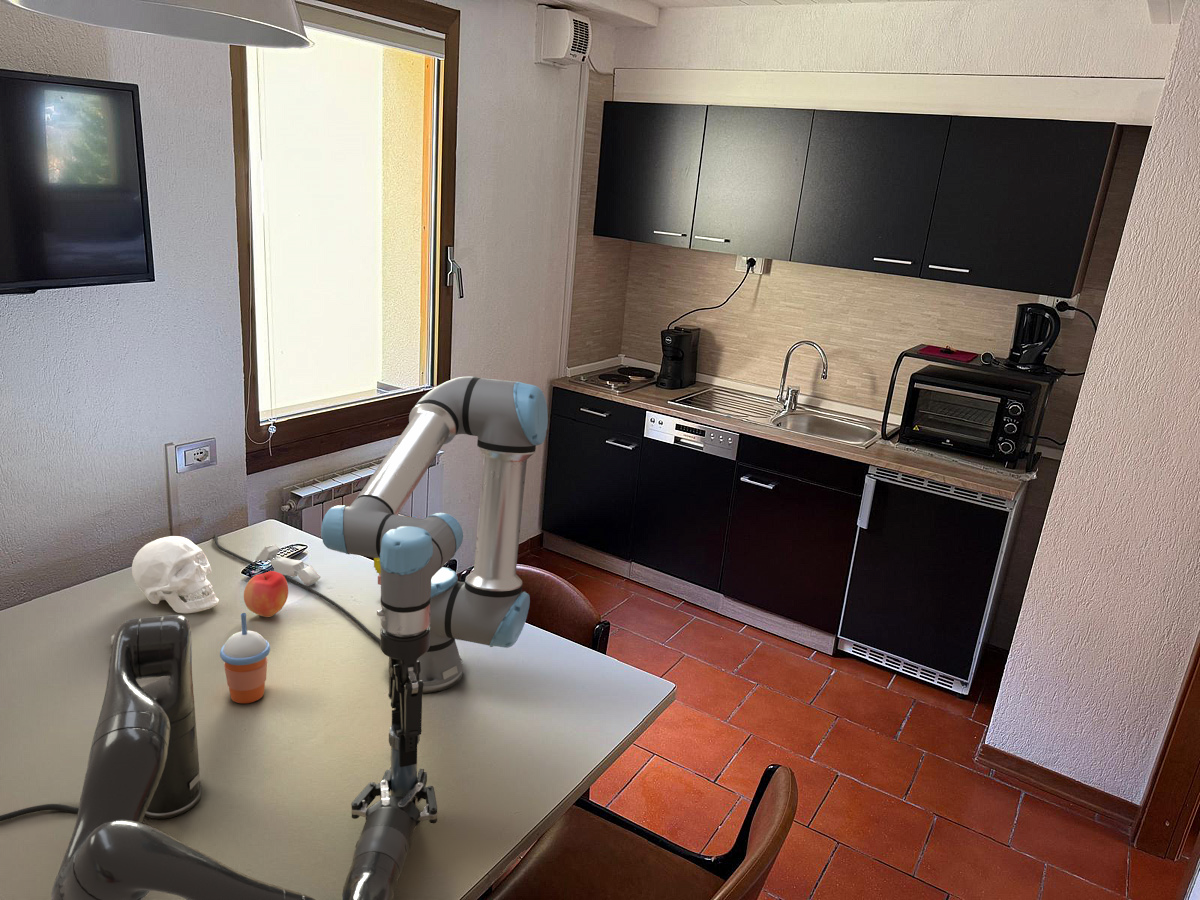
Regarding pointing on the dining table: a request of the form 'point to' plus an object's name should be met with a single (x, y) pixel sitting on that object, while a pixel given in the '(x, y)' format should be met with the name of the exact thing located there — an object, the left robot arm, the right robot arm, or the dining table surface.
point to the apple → (266, 593)
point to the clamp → (288, 565)
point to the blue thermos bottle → (401, 776)
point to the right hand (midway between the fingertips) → (404, 753)
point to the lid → (396, 736)
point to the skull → (174, 574)
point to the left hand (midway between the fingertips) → (407, 772)
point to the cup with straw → (245, 664)
